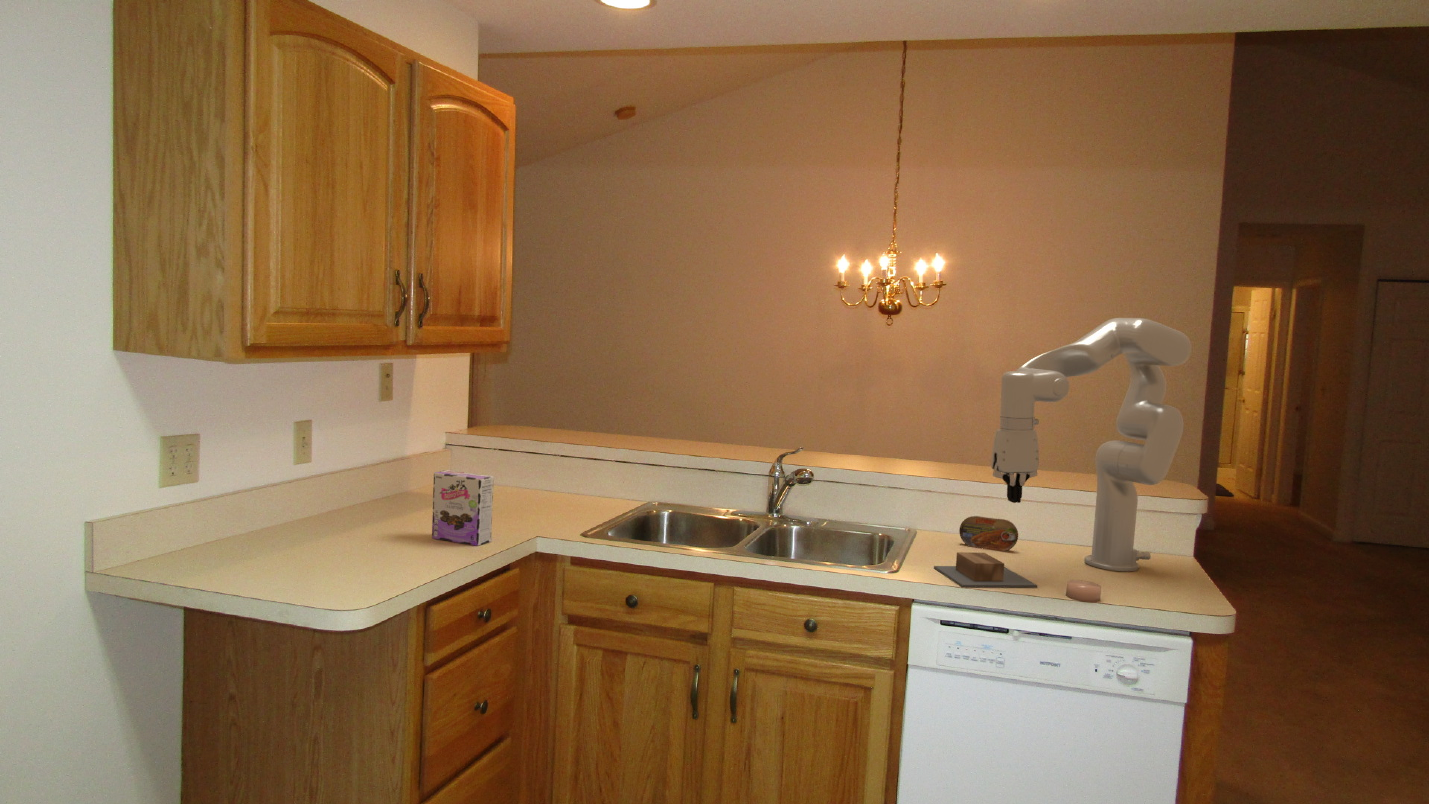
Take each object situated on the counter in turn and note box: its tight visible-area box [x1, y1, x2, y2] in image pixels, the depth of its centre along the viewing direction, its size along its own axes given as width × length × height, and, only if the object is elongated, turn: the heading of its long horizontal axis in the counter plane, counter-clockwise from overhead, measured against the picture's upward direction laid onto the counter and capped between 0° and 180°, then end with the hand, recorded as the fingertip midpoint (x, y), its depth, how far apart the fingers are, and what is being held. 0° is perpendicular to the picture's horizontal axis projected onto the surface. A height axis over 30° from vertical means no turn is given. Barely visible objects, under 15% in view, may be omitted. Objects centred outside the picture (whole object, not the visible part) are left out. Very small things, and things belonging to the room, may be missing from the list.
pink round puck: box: [1065, 579, 1102, 603], centre depth 203 cm, size 7×7×3 cm
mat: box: [933, 565, 1038, 589], centre depth 215 cm, size 18×16×1 cm
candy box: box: [431, 469, 495, 547], centre depth 225 cm, size 14×6×16 cm, turn 68°
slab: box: [955, 552, 1005, 581], centre depth 215 cm, size 4×10×7 cm
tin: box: [958, 515, 1019, 552], centre depth 246 cm, size 15×3×8 cm, turn 62°
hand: (1014, 501), depth 218 cm, fingers closed
